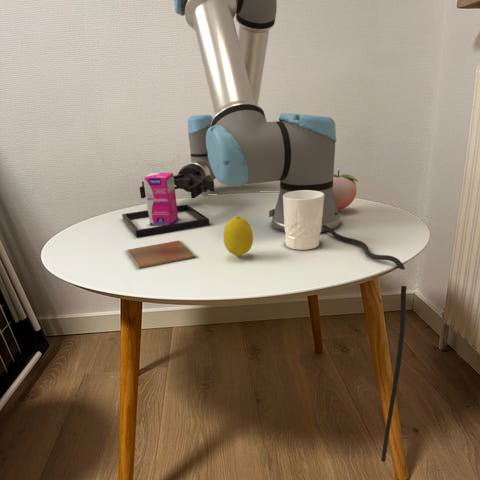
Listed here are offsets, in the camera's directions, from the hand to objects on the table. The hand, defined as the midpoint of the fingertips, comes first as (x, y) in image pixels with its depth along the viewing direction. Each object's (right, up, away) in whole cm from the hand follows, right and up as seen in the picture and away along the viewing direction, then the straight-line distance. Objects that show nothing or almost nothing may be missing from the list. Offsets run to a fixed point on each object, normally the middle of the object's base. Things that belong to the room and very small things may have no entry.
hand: (166, 192), depth 108 cm
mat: (+2, -19, -21) cm, 28 cm away
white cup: (+31, -17, -20) cm, 41 cm away
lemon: (+18, -20, -25) cm, 37 cm away
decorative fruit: (+43, -5, 0) cm, 43 cm away
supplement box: (0, -8, 0) cm, 8 cm away
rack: (0, -7, 0) cm, 7 cm away
